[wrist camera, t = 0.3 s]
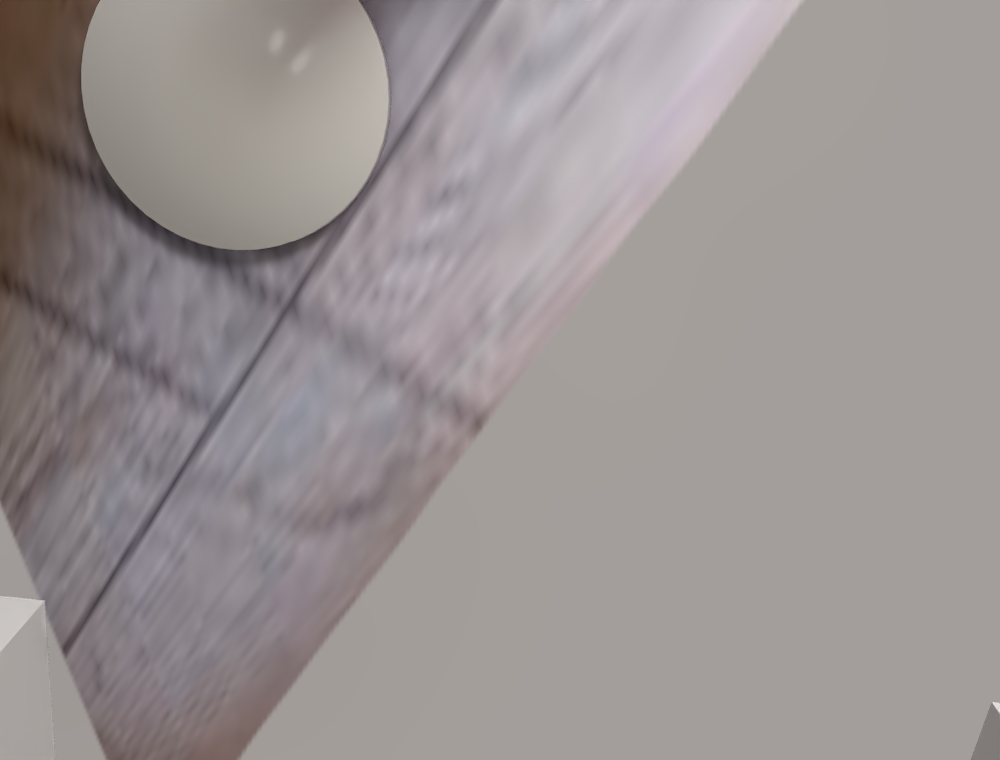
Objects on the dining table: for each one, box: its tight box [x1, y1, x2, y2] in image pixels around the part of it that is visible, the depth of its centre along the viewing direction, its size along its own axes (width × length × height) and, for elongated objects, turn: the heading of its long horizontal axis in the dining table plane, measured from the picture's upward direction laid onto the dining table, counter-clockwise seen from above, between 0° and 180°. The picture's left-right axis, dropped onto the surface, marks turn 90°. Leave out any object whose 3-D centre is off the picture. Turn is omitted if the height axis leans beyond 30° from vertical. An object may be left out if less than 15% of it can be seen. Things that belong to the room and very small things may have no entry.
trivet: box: [81, 0, 391, 250], centre depth 36 cm, size 12×12×1 cm
